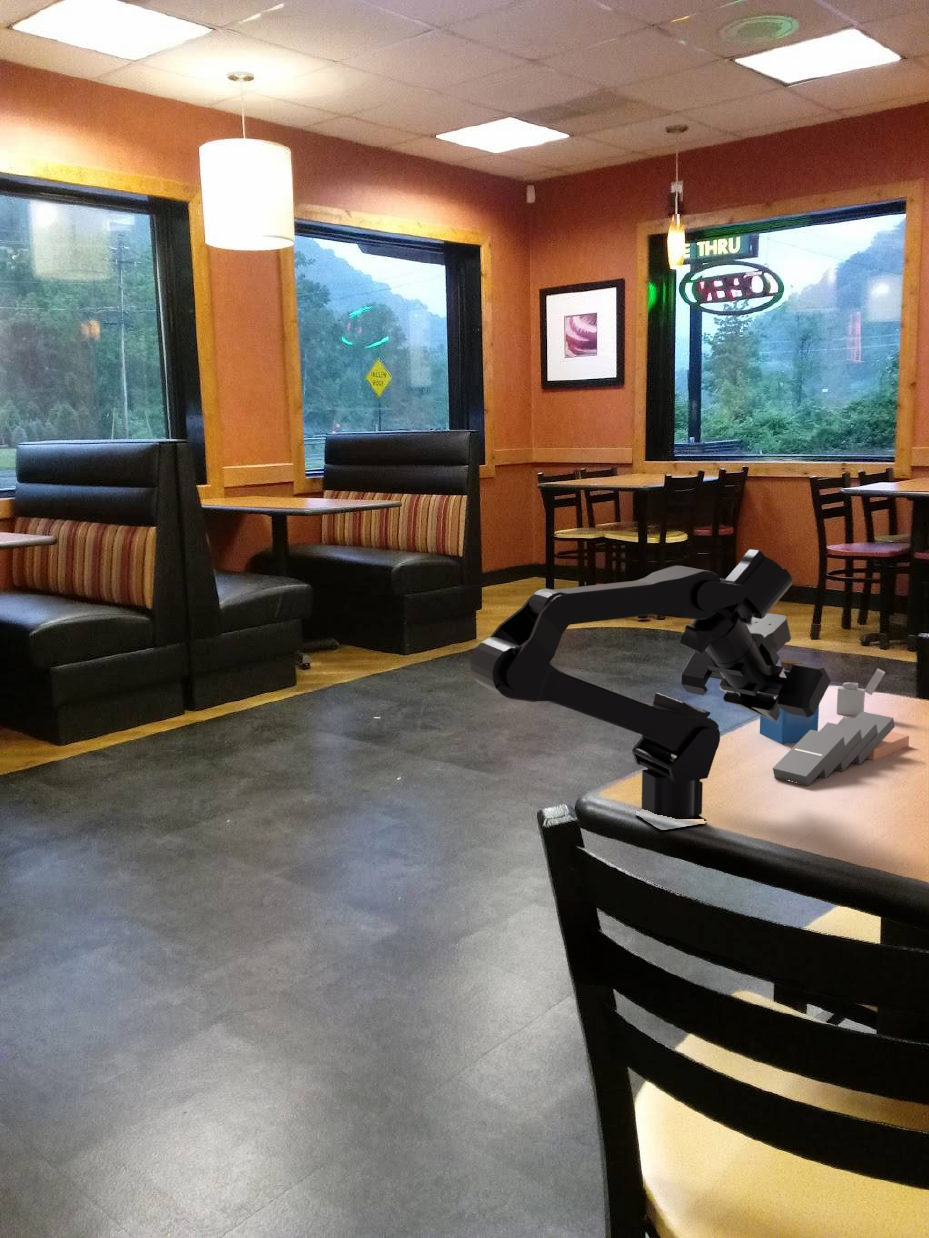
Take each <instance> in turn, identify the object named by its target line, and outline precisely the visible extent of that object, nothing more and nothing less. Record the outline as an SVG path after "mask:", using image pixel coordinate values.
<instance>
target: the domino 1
mask: <svg viewBox="0 0 929 1238" xmlns="http://www.w3.org/2000/svg"><path fill="white" fill-rule="evenodd" d="M844 747H845V743H844V737H843V736H838V735H834V734H829V733H824V732H820V730H818V731H815V730H810V731H809V732H808V733H807V734H806V735H805V736H804V737H803V738H802V739H801V740H800V741H799V742H798V743H795V745H794V746H793V747H791V749H789V751H788V752H787V753H786V754H785V755H784V756H783V757H781V759H780V760H778V762H777V763H776V764H775V765H774V766H772V772H773V777H774V778H775V779H777V778H778V779H779V780H781V779H782V781H785V780H790V781H793V782H797V783H799V784H798V785H801V784H803V785H802V786H805V785H807V786H806V787H809V786H810V785H811V784H812V783H813V781H815V779H816V778H817V777H819V776H818V775H819V774H820V773H821V772H822V771H823V770H824V768H825V767H826V766H827V765H828V764H829V763H830V762H831V761H832V760H833V759H834V758H835V757H836V756H837V754H838V753H839V752H840V751H841V750H842V749H843V748H844ZM778 779H777V780H778ZM793 782H792V783H793ZM797 783H796V784H797ZM808 785H809V786H808Z"/></svg>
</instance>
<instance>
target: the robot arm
mask: <svg viewBox="0 0 929 1238" xmlns="http://www.w3.org/2000/svg"><path fill="white" fill-rule="evenodd" d="M793 581H794V580H793V578H792V576H791V574H790V572H789V571H788V570H787V569H786V568H785V567H782V566H781V565H780V564H779V563H778V562H776V561H775V560H773V559H771V558H769V557H767V556H766V555H765V554H764V553H763V552H762V550H759V549H752V548H751V549H748V550H747V552H746V553H745V554H744V555H743V557H742V558H741V560H740V562H739V563H738V564H737V565H736V566H735V568H733V570H731V572H730V573H729V575H728V576H726V578H725V579H724V578H721V577H719V576H718V575H717V573H716V572H714V571H712V570H711V571H710V570H704V569H699V568H694V567H691V566H690V567H689V566H683V565H673V566H669V567H665V568H662V569H659V570H657V571H653V572H651V573H650V574H648V575H647V576H645V577H643V578H640V579H637V580H632V581H622V582H621V581H619V582H611V583H605V584H604V583H603V584H593V585H583V586H573V587H566V588H557V589H555V588H554V589H551V588H545V587H544V588H540V589H538V590H537V591H535V592H533V593H532V594H531V596H529V598H528V599H527V600H526V601H525V602H524V604H523V605H522V606H521V607H520V608H519V609H518V610H516V611H515V612H514V613H512V614H511V615H510V616H508V617H507V618H506V619H505V620H504V621H503V622H501V623H500V624H499V625H498V626H497V627H496V629H495V630H494V631H493V632H492V633H491V635H490V636H489V637H487V639H485V640H483V641H481V642H480V643H479V644H478V645H477V646H476V647H475V648H474V650H473V652H472V654H471V657H470V661H469V663H470V664H469V665H470V666H469V667H470V672H471V674H472V678H473V680H474V681H475V682H476V683H477V684H480V685H481V686H483V687H485V688H487V689H489V690H490V691H493V692H495V693H496V694H499V695H501V696H503V697H504V698H507V699H510V700H516V701H523V702H529V703H551V704H552V703H553V704H556V705H558V706H561V707H563V708H567V709H570V710H572V711H575V712H578V713H581V714H584V715H586V716H589V717H593V718H595V719H597V720H600V721H603V722H606V723H609V724H611V725H613V726H616V727H617V726H618V727H620V728H622V729H625V730H628V731H631V732H634V733H636V734H637V735H638V736H639V737H641V738H640V739H639V740H638V741H637V743H636V744H635V745H634V746H633V747H632V754H633V758H634V762H635V764H636V765H638V766H642V767H644V768H645V769H642V771H641V809H644V810H648V811H650V812H652V813H654V814H657V815H663V816H667V817H672V818H675V819H704V821H707V819H706V818H704V817H703V816H701V815H702V813H703V789H704V788H703V787H704V785H703V781H702V780H705V779H708V777H709V774H710V772H711V769H712V765H713V762H714V759H715V756H716V754H717V751H718V748H719V745H720V741H721V732H720V729H719V727H720V725H719V724H718V723H717V722H716V721H715V720H713V718H710V717H709V716H710V715H711V711H708V710H705V709H703V708H700V707H698V706H695V705H693V704H689V703H687V702H684V701H681V700H679V699H676V698H673V697H670V696H667V695H665V694H662V693H660V692H655V693H654V694H655V695H654V699H653V702H646V701H640V700H638V699H634V698H632V697H629V696H627V695H624V694H622V693H619V692H616V691H613V690H611V689H608V688H607V687H604V686H600V685H598V684H595V683H592V682H589V681H587V680H585V679H582V678H580V677H577V676H574V675H571V674H568V673H566V672H564V671H562V670H561V669H560V668H558V667H556V666H555V665H554V664H553V663H551V661H552V660H553V659H554V657H555V654H556V652H557V649H558V647H559V644H560V642H561V639H562V636H563V634H564V633H565V631H566V630H567V628H568V627H570V626H572V625H578V624H588V623H594V622H604V621H613V620H619V619H628V618H635V617H644V616H652V615H653V616H664V617H670V618H678V619H679V618H680V619H688V620H689V619H690V620H692V621H691V622H690V624H688V625H685V627H684V632H683V633H682V634H681V636H680V640H679V644H680V645H681V646H684V647H685V648H688V649H690V650H693V653H692V655H691V656H690V657H689V660H688V662H687V663H686V665H685V667H684V669H683V670H682V672H681V674H680V685H681V686H682V688H684V691H686V693H689V694H694V695H699V696H705V694H707V692H708V690H709V689H708V688H707V686H706V685H707V683H708V680H709V679H710V678H712V679H717V680H718V679H719V680H721V681H720V683H719V687H718V689H719V690H720V691H721V692H722V691H723V693H724V695H723V698H722V699H723V701H724V702H725V703H728V704H731V705H734V706H737V707H739V708H742V709H744V710H747V711H748V712H751V713H754V714H757V715H758V716H759V717H760V716H763V717H765V718H768V719H770V720H774V721H777V719H778V718H779V716H780V708H781V709H782V710H784V711H786V712H787V713H789V714H794V715H799V716H803V717H810V716H812V715H814V714H815V712H816V710H817V708H818V706H819V707H820V703H821V701H822V700H823V698H824V696H825V695H826V694H825V693H826V691H827V690H828V688H829V686H830V684H831V682H832V680H831V678H830V676H829V674H828V672H827V671H826V669H825V667H823V666H818V665H817V666H816V665H810V664H805V663H802V664H800V663H798V664H794V665H793V666H792V668H791V670H790V672H787V671H784V668H783V667H782V666H781V665H780V666H779V665H777V664H778V663H779V660H781V659H780V656H779V655H778V652H779V651H780V650H781V649H782V648H783V647H784V646H785V644H787V643H789V642H790V641H791V640H792V635H791V630H790V627H789V622H788V618H787V616H786V615H785V614H775V613H771V612H770V611H771V610H772V609H773V608H774V607H775V605H776V604H777V603H778V601H779V600H780V599H781V598H782V597H783V596H784V595H785V593H786V592H787V591H788V590H789V588H790V587H791V586H792V584H793ZM769 612H770V613H769ZM672 755H674V756H676V757H674V756H672Z"/></svg>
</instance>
